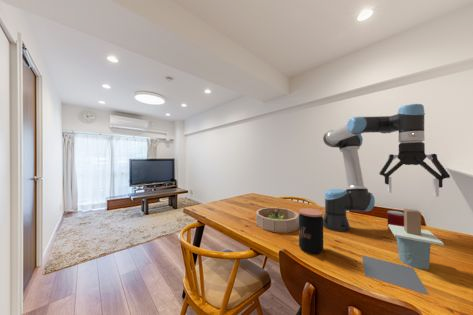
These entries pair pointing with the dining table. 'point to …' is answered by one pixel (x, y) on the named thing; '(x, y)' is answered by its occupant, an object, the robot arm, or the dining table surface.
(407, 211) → the lid
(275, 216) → the plant
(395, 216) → the canned food
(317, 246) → the coffee jar
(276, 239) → the dining table surface
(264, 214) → the cachepot ring
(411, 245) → the blue pot
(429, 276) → the dining table surface
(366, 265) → the mat
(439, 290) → the dining table surface
